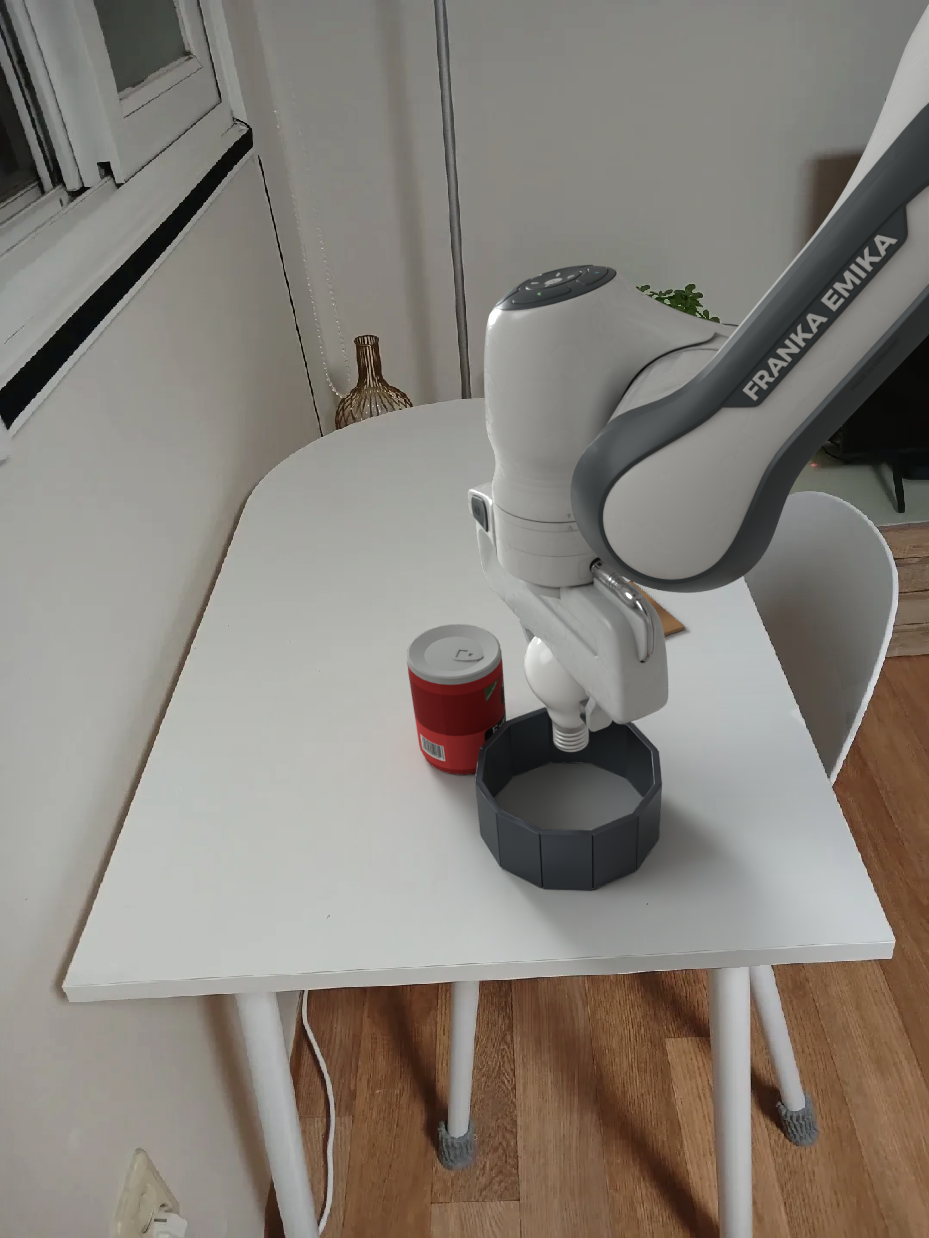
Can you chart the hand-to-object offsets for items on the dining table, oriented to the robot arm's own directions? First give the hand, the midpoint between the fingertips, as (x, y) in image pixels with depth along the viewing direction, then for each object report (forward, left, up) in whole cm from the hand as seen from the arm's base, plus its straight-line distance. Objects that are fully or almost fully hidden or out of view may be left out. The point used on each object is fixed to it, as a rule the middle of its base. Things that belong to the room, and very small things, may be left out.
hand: (569, 693), depth 70 cm
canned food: (+12, +4, -14) cm, 19 cm away
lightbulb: (0, 0, -5) cm, 5 cm away
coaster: (+22, -18, -13) cm, 31 cm away
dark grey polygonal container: (0, 0, -13) cm, 13 cm away
